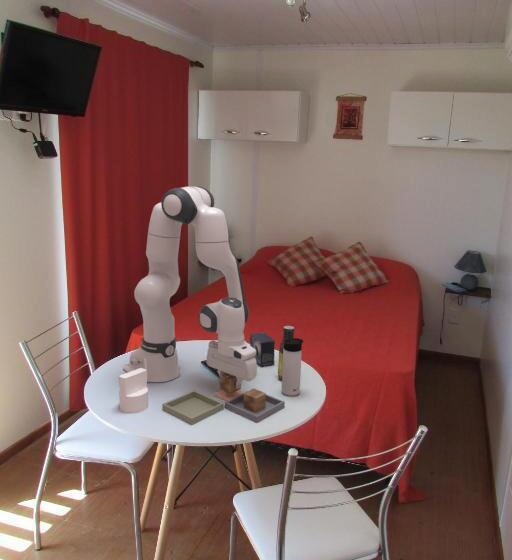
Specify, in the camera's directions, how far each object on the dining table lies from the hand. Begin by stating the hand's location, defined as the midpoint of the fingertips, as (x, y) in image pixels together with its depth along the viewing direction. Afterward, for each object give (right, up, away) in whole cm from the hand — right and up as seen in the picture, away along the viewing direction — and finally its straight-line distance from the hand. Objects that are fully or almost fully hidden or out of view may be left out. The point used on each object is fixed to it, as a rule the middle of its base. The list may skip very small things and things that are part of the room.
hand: (230, 384), depth 177 cm
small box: (+11, +3, +31) cm, 33 cm away
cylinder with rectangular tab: (-31, -6, -8) cm, 32 cm away
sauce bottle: (+20, -1, +16) cm, 26 cm away
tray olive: (-11, -6, -10) cm, 16 cm away
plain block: (+8, -6, -8) cm, 13 cm away
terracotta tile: (0, -4, +1) cm, 4 cm away
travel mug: (+21, -4, +4) cm, 22 cm away
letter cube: (0, -2, 0) cm, 2 cm away
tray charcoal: (+8, -6, -7) cm, 13 cm away
